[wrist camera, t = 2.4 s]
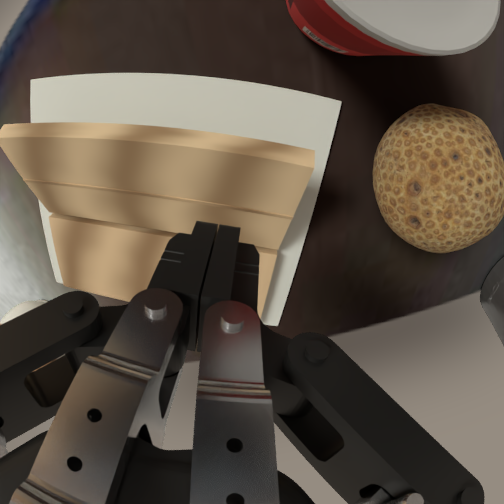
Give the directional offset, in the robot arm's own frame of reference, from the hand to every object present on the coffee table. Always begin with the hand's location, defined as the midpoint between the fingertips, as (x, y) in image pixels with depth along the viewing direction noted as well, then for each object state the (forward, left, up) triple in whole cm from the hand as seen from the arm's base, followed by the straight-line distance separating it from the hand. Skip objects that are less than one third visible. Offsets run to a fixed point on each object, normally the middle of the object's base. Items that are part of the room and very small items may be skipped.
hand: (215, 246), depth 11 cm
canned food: (-5, -12, -12) cm, 18 cm away
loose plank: (+6, +2, -9) cm, 11 cm away
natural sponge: (-12, -3, -12) cm, 17 cm away
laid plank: (+6, +11, -12) cm, 18 cm away
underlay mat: (+6, +6, -12) cm, 15 cm away
